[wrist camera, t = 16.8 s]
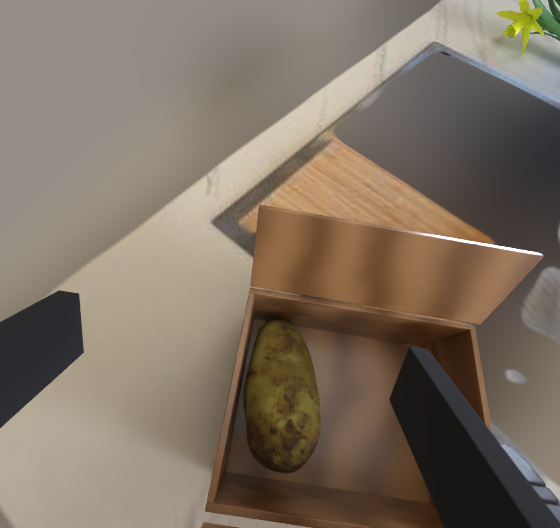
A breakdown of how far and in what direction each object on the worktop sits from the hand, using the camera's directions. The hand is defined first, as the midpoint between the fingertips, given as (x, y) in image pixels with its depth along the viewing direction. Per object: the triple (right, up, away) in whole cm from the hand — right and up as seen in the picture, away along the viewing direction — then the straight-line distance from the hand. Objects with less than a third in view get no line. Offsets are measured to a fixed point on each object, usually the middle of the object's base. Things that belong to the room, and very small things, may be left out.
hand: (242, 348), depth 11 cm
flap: (+10, +3, +11) cm, 15 cm away
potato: (+2, -10, +19) cm, 22 cm away
